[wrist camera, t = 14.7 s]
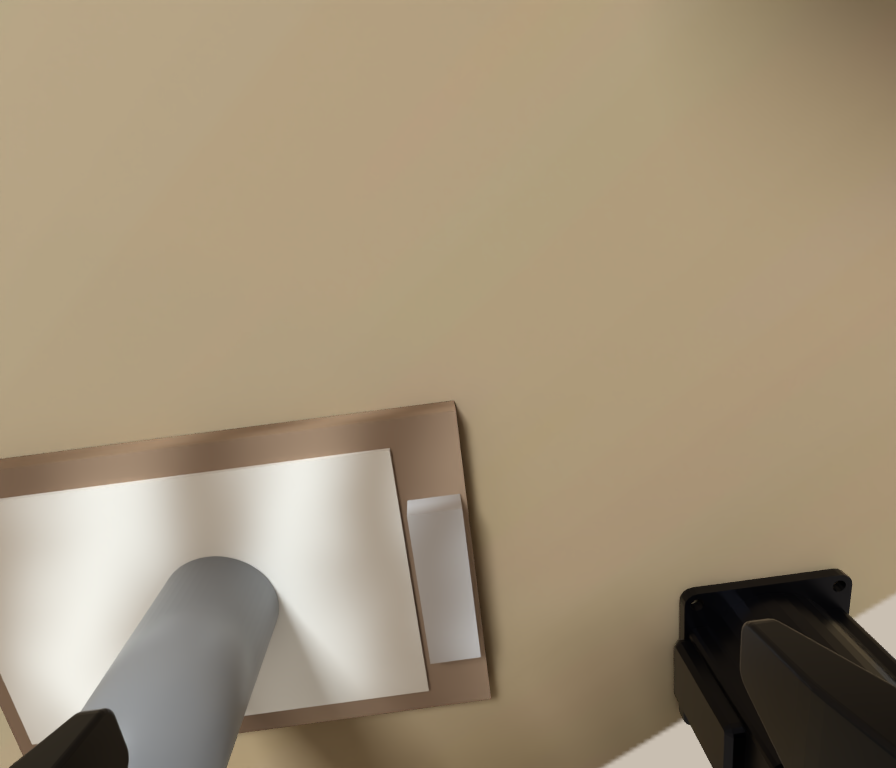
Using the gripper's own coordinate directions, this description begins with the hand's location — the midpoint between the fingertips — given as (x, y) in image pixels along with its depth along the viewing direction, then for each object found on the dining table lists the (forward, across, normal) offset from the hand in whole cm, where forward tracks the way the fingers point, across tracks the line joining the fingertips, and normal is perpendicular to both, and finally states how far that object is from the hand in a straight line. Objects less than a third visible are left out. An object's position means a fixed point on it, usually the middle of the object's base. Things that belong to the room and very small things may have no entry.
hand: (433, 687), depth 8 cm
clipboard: (+12, +8, +6) cm, 16 cm away
